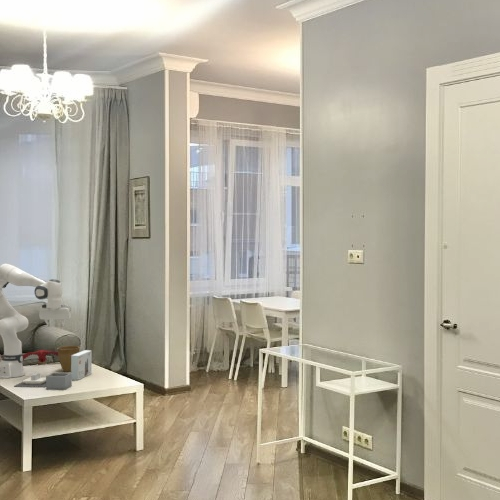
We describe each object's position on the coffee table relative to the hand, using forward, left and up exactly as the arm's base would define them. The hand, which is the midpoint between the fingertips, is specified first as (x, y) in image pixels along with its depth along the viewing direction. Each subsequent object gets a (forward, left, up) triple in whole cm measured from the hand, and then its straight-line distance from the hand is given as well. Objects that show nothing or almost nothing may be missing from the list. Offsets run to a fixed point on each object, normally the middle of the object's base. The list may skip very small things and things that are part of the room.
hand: (55, 326), depth 451 cm
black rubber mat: (-8, -13, -34) cm, 37 cm away
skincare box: (+13, +10, -34) cm, 38 cm away
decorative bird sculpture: (-32, +50, -34) cm, 69 cm away
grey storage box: (+11, -22, -34) cm, 42 cm away
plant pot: (-3, +28, -34) cm, 44 cm away
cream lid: (-8, -13, -34) cm, 37 cm away
